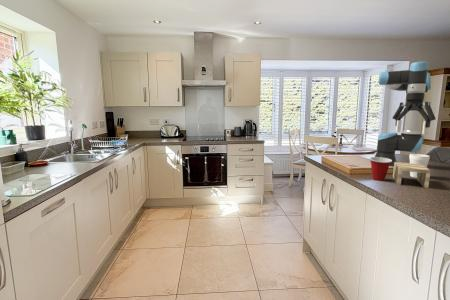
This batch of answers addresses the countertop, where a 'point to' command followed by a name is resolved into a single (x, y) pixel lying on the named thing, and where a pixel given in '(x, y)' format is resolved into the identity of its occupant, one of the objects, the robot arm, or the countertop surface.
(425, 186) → the oak shelf
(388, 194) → the countertop surface
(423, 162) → the foam cup
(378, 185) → the countertop surface
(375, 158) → the plastic cup
